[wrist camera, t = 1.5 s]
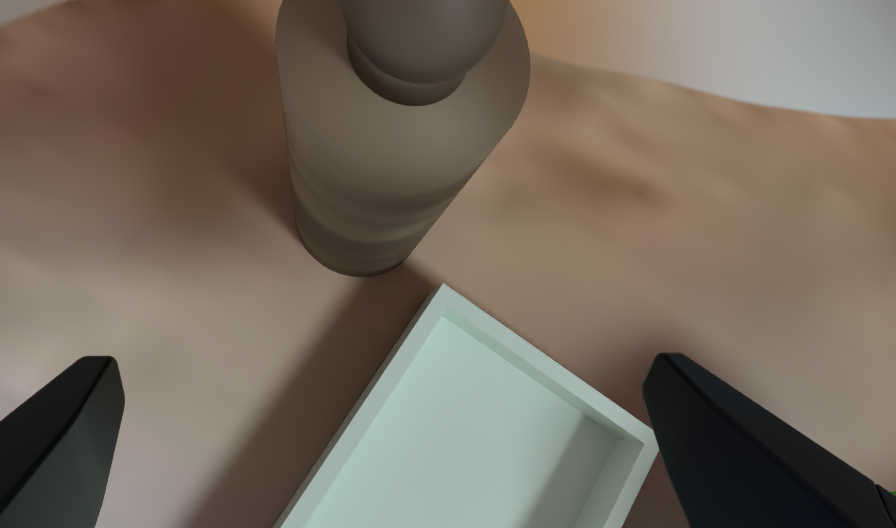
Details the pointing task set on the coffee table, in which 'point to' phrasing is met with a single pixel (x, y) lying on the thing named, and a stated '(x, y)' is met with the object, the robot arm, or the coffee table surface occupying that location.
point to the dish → (474, 438)
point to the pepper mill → (391, 116)
